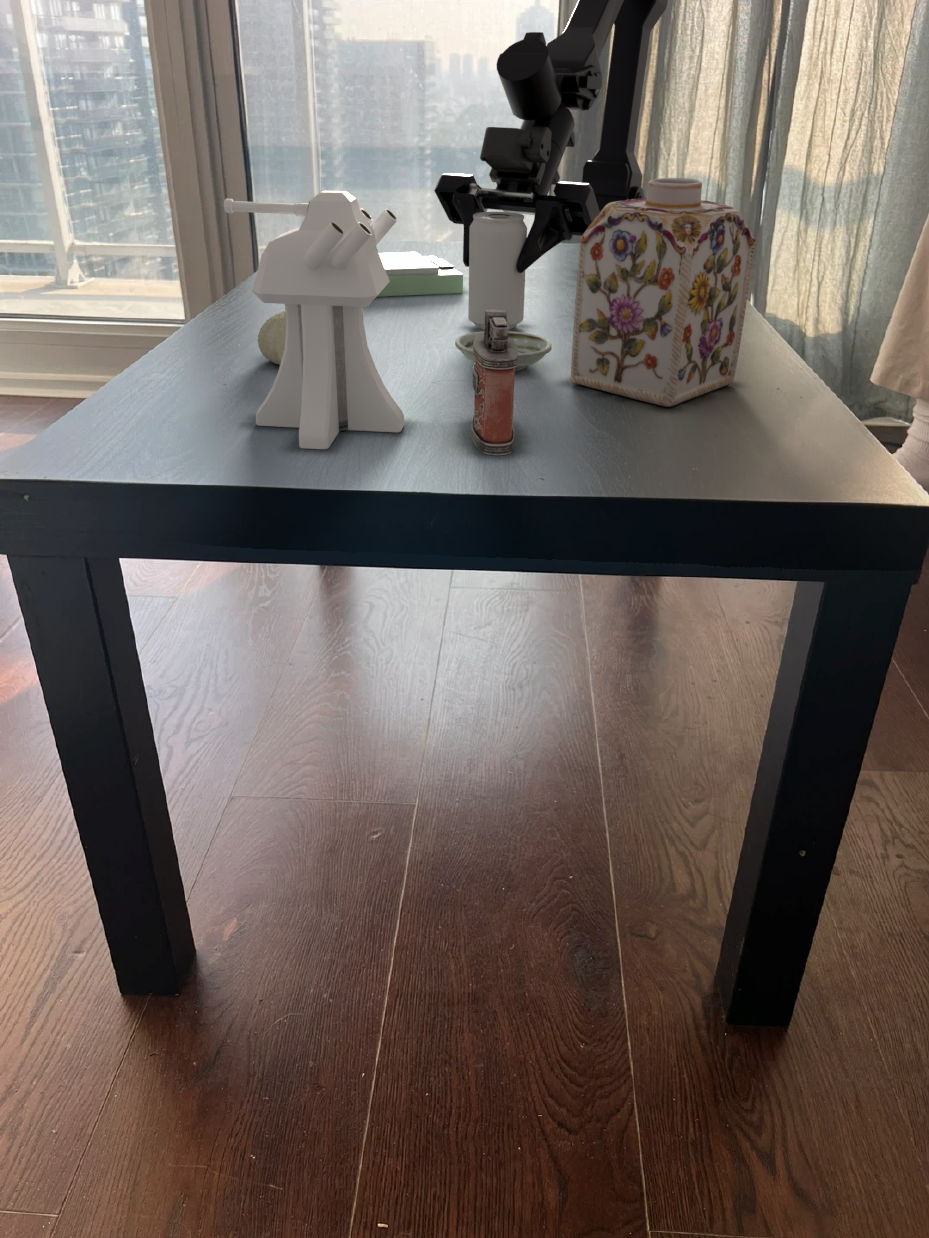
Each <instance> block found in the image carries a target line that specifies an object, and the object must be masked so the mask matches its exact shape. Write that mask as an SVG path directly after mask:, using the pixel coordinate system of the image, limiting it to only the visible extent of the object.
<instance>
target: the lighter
mask: <svg viewBox="0 0 929 1238" xmlns="http://www.w3.org/2000/svg"><path fill="white" fill-rule="evenodd" d="M483 331H484V334H478V335H476V336H475V337H474V340H473V356H474V357H475V362H474V364H473V365H472V381H471V383H472V389H473V391H474V398H473V399H474V401H473V402H474V403H473V416H472V419H471V426H470V427H471V428H470V434H471V440H472V442H473V444H474V446H475V447H476V448H477V450H478V451H479V452H481V453H482V454H483V455H484V454H485V455H488V456H505V455H510V454H512V453H513V452H514V447H515V428H514V425H513V424H514V423H513V421H514V420H513V419H514V399H515V398H514V397H515V394H514V393H515V375H516V374H515V373H516V371H515V367H516V366H517V362H518V348H517V345H516V344H515V343H514V341H513V340H511V339H510V338H509V337H508V333H509V331H510V329H509V324H508V322H507V312H506V311H500V310H486V311H485V323H484V329H483Z"/></svg>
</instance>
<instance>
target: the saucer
mask: <svg viewBox="0 0 929 1238" xmlns="http://www.w3.org/2000/svg"><path fill="white" fill-rule="evenodd" d="M478 334H484V330H483V331H475V332H470V333H466V334H465V333H464V334H463V335H460V336H458V337H457V338H456V339H455V341H454V344H455V347H456V348H457V350H459V351H460V353H461V354H462V355H463V356H464V357H465V358H467V359H468V360H470V362H471V361H472V362H473V363H475V357H474V356H473V340H474V337H475V336H476V335H478ZM508 337H509V338H510V339H511V340H513V341H514V343H515V344H516V345H517V348H518V362H517V366H516V367H515V372H518V371H519V372H520V371H522V370H525V369H527V368H528V366H531V365H533V364H535V363H538V362H539V361H540V360H542V359H543V358H544V357H545V356H546V355H547V354H549V353H550V352H551V351H552V347H553V345H552V343H551V341H550V340H548V339H547V338H545V337H543V336H540V335H536V334H533V333H528V332H521V331H511V330H509V333H508Z"/></svg>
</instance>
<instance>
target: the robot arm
mask: <svg viewBox="0 0 929 1238" xmlns="http://www.w3.org/2000/svg"><path fill="white" fill-rule="evenodd" d="M668 1H669V0H577V3H576V5H575V7H574V9H573V11H572V14H571V16H570V18H569V21H568V22H567V25H566V27H565V29H564V31H563V32H562V33H561V34H560V35H558V36H557V37H555V38H554V39H553V40H551V41H549V42H548V43H547V41H546V38H545V33H544V32H543V31H526V32H525V34H524V36H523V38H522V39H521V40H519V41H516V42H514V43H512V44H511V45H508V47H507V48H506V49H504V51H503V52H502V53H499V56H498V57H497V60H496V71H497V74H498V76H499V79H500V82H501V85H502V88H503V91H504V93H505V96H506V98H507V102H508V104H509V107H510V109H511V112H512V115H513V116H514V117H516V118H518V120H519V119H520V120H521V121H522V122H521V124H520V127H519V128H518V127H501V126H487V127H486V128H485V132H484V136H483V140H482V141H483V143H482V146H481V151H480V155H479V159H480V161H481V162H484V163H486V164H487V165H488V166H489V167H490V168H491V169H490V171H489V174H488V176H489V178H490V180H491V182H492V183H495V184H496V187H495V188H486V187H485V188H484V187H482V186H480V185H479V184H478V183H477V180H476V178H475V176H474V175H473V174H465V173H450V172H449V173H448V172H447V173H442V174H441V175H440V177H439V179H438V180H437V183H436V186H435V188H434V191H433V192H434V194H435V195H436V197H437V199H438V201H439V203H440V205H441V207H442V209H443V210H444V212H445V215H446V217H447V219H448V220H449V221H450V222H452V223H453V224H455V225H463V237H462V238H463V241H462V243H463V245H462V262H463V264H464V266H465V267H466V268H469V234H470V225H471V224H472V222H473V220H474V218H473V215H474V214H476V213H481V212H488V210H497V211H502V212H512V213H518V214H522V215H529V216H534V217H533V222H532V224H531V227H530V229H529V232H528V233H527V239H526V241H525V243H524V246H523V248H522V250H521V253H520V255H519V259H518V262H517V265H516V269H517V271H518V273H522V272H524V271H525V272H526V270H527V269H529V267H531V266H532V265H534V263H536V261H538V260H539V259H540V258H541V257H543V256H544V255H545V254H547V253H548V252H549V251H551V250H552V249H553V248H555V247H556V246H558V245H559V244H560V243H562V242H564V241H570V240H571V239H572V238H573V236H579V237H581V236H582V235H583V234H584V233H585V231H586V230H587V228H588V227H589V225H590V224H591V223H592V222H593V221H594V219H595V218H596V217H597V215H598V214H599V213H600V212H601V211H602V209H603V208H604V207H605V206H606V205H607V204H608V203H611V202H616V201H625V200H627V199H630V200H631V199H639V198H645V194H644V190H643V187H642V185H643V173H642V171H641V168H640V165H639V163H638V160H637V158H636V155H635V146H636V140H637V133H638V125H639V118H640V110H641V105H642V103H641V102H642V95H643V88H644V82H645V74H646V68H647V60H648V54H649V53H648V52H649V45H650V39H651V38H650V37H651V32H652V30H653V29H654V27H656V25H657V23H658V21H659V20H660V18H661V17H662V16H663V15H664V13H665V11H666V10H667V7H668ZM613 26H614V27H613ZM612 29H613V38H612V45H611V53H610V60H609V68H608V75H607V84H606V93H605V99H604V109H603V117H602V125H601V133H600V139H599V147H598V150H597V151H596V153H595V154H594V156H593V157H592V158H591V160H586V161H585V163H584V165H583V167H582V178H581V179H582V180H581V182H575V181H574V182H573V181H560V180H561V176H560V173H559V170H558V169H559V166H560V164H561V161H562V159H563V156H564V154H565V152H566V149H567V148H574V147H575V146H576V135H575V131H574V128H575V125H576V124H575V123H576V122H575V119H574V117H573V113H572V111H582V112H583V111H584V112H585V111H589V110H590V109H591V108H592V107H593V105H594V103H595V101H596V100H597V99H598V97H599V96H600V95H599V94H600V92H601V89H602V87H603V73H602V68H601V63H600V58H601V56H602V55H601V54H602V51H603V49H604V47H605V45H606V42H607V40H608V38H609V35H610V33H611V31H612ZM553 185H554V188H553V194H554V195H550V194H549V192H550V191H551V187H552V186H553ZM548 194H549V195H548Z"/></svg>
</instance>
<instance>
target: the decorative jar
mask: <svg viewBox="0 0 929 1238" xmlns="http://www.w3.org/2000/svg"><path fill="white" fill-rule="evenodd" d="M702 191H703V181H701V180H699V179H696V178H691V177H688V178H687V177H664V178H663V177H661V178H654V179H650V180H649V181H648V183H647V190H646V197H644V198H639V199H631V200H630V199H627V200H625V201H616V202H611V203H608V204H607V205H606V206H605V207H604V208H603V209H602V211H601V212H600V213H599V214H598V215H597V217H596V218H595V219H594V221H593V222H592V223H591V224H590V225H589V227H588V228H587V230H586V231H585V233H584V234H583V235H582V236H580V241H579V253H578V264H577V277H576V288H575V300H574V314H573V315H574V316H573V325H572V326H573V327H572V328H573V329H572V344H571V365H570V382H571V384H575V385H580V386H582V387H587V388H591V389H595V390H599V391H602V392H606V393H610V394H614V395H617V396H622V397H626V398H629V399H632V400H636V401H641V402H644V403H649V404H652V405H657V406H660V407H664V408H671V407H673V406H677V405H678V404H681V403H683V402H687V401H690V400H692V399H694V398H697V397H700V396H702V395H705V394H708V393H710V392H713V391H716V390H718V389H721V388H723V387H726V386H729V385H731V384H732V383H733V382H734V380H735V376H736V372H737V367H738V359H739V355H740V354H739V353H740V348H741V341H742V336H743V330H744V329H743V328H744V323H745V316H746V310H747V309H746V308H747V304H748V303H747V302H748V294H749V286H750V279H751V271H752V267H753V266H752V264H753V259H754V252H755V251H754V250H755V244H756V238H755V237H754V236H753V233H752V231H751V228H750V226H749V225H748V224H747V222H746V221H745V219H744V217H743V216H742V214H741V212H740V211H739V210H737V209H736V208H734V207H733V206H731V205H728V204H722V203H719V202H715V201H710V200H702Z"/></svg>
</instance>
